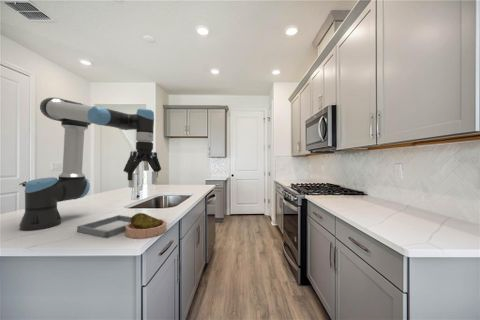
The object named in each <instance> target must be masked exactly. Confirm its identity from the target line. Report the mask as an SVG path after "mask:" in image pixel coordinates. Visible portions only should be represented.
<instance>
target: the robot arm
mask: <svg viewBox="0 0 480 320" xmlns="http://www.w3.org/2000/svg"><path fill="white" fill-rule="evenodd" d="M39 110H40V112H41V113H42V115H43V116H45V117H46V118H48V119H50V120H53V121H58V122H61V127H62V128H63V129H64V134H63V135H64V137H63V156H62V157H63V158H62V173H60V174H59V175H58V177H54V176H53V177H43V178H42V177H41V178H36V179H32V180H28V181H27V182H26V183H25V187H24V214H23V216H22V218H21V221H20V222H19V230H21V231H36V230H43V229H44V230H45V229H49V228H52V227H57V226H58V225H60V224H62V216H61V214H60V212H59V209H58V203H59V202H66V201H72V200H78V199H81V198H84V197H86V196H87V195H88V193H89V191H90V186H91V185H90V181H89V179H88V178H86V175H85V174H84V173H83V160H84V143H85V142H84V141H85V131H86V130H87V129H88V128H89V126H90V125H92V124H95V125H96V126H97V125H98V126H105V127H111V128H116V129H119V130H123V131H129V130H130V131H131V130H136V133H135V134H136V135H135V140H136V142H135V149H136V150H134V151H133V150H131V151H130V154H129V157H128V159H127V162H126V163H125V166H124V168H123V172H125V173H126V174H127V181H128V188H130V189H134V188H135V180H136V179H135V177H136V174H135V173H136V172H135V171H136V169H137V167H139V165H140V164H141V163H142V162H147V163H148V165H149V166H150V167H151V168H150V169H152V171H151V185H154V186H155V185H157V184H158V177H159V172H160V171H161V170H162V167H161V164H160V161H159V158H158V152H156V151H155V152H154V151H153V150H154V129H155V128H154V125H155V123H154V122H155V113H154V111H153V110H152V109H150V108H149V109H148V108H137V110H136V113H134V114H133V113H125V112H121V111H118V110H114V109H109V108H106V107H104V106H95V105H94V106H93V105H86V104H84V103H82V102H76V101H72V100H68V99H64V98H59V97H48V98H45V99H42V101H40V104H39Z"/></svg>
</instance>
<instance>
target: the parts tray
mask: <svg viewBox="0 0 480 320" xmlns="http://www.w3.org/2000/svg"><path fill="white" fill-rule="evenodd" d="M131 218H132V216H129V215H128V216H127V215H122V214H121V215H120V214H119V215H115V216H110V217H108V218H104V219H100V220H95V221H93V222H88V223H86V224H85V223H84V224H80V225H78V226H77V227H76V228H77V229H76V232H77V233H81V234H86V235H90V236H95V237H100V238H104V239H109V238H110V237H114V236H116V235H119V234H122V233H125V226H126V225H127V224H125V225H122V226H119V227H116V228H112V229H108V230H104V229H99V228H98V227H100V226H104V225H108V224H112V223H115V222H118V221H119V222H127V223H131Z"/></svg>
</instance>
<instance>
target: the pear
mask: <svg viewBox="0 0 480 320" xmlns="http://www.w3.org/2000/svg"><path fill="white" fill-rule="evenodd" d="M131 217H132V218H131V222H130V223H131V224H132V225H133V226H134V227H135V228H137V229H150V228H155V227H158V226H161V225H162V223H161V221H160V220H159V219H160V218H156V217H153V216H152V215H148V214H147V213H143V212H139V213H136V214H134V215H132V216H131Z"/></svg>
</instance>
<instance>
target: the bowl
mask: <svg viewBox="0 0 480 320" xmlns="http://www.w3.org/2000/svg"><path fill="white" fill-rule="evenodd" d="M158 219H159V220H160V221H161V223H162V225H161V226H158V227H155V228H150V229H137V228H135V227H134V226H133V225H132V224H131V222H127V224H125V225H126V226H125V232H124V233H125V236H126V237H127V238H130V239H149V238H148V237H150V238H153V237H157V236H161V235H163V234H164V233H165V232H166V230H167V221H166V220H165V219H160V218H158Z"/></svg>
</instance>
